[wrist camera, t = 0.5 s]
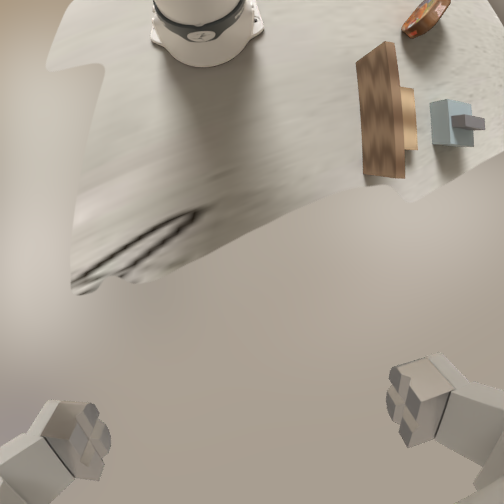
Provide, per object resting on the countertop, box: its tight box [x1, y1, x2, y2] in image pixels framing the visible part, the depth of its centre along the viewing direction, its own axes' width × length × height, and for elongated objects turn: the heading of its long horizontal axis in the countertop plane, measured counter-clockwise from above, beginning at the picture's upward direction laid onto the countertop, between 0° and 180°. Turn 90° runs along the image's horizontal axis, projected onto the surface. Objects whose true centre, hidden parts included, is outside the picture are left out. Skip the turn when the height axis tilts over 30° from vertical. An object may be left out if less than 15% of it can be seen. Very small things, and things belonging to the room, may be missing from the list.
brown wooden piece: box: [356, 41, 418, 179], centre depth 43 cm, size 20×10×12 cm, turn 3°
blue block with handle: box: [430, 99, 485, 147], centre depth 45 cm, size 8×6×10 cm
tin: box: [401, 0, 451, 39], centre depth 39 cm, size 15×3×8 cm, turn 143°
